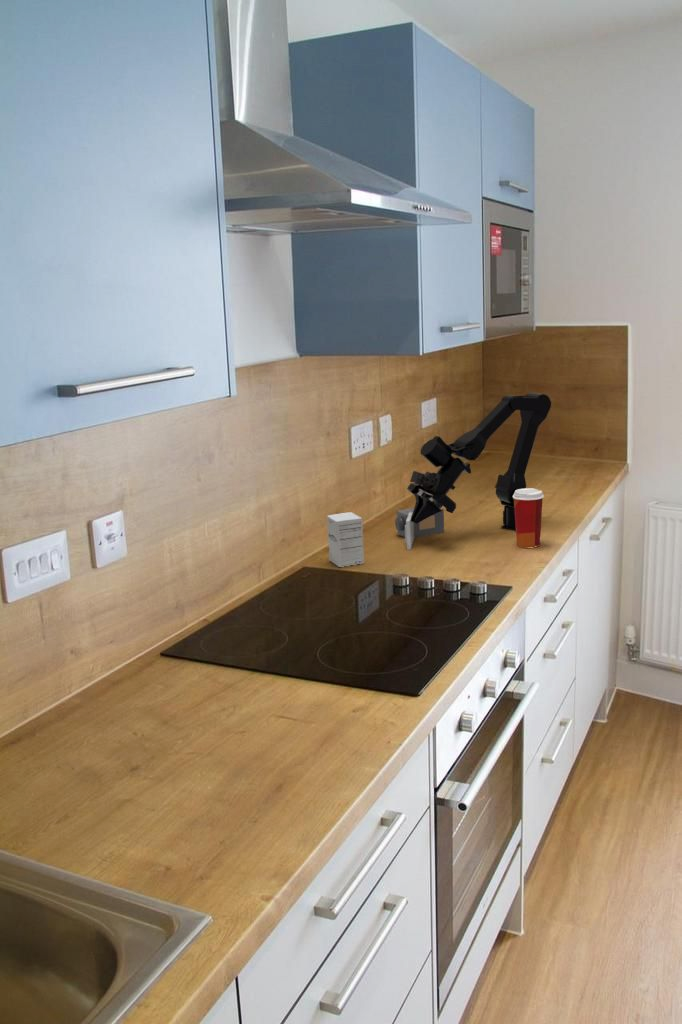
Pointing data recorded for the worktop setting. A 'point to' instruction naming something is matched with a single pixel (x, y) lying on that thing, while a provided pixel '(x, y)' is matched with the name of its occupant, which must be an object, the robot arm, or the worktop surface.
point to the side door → (409, 531)
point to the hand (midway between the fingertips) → (413, 522)
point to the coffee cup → (528, 516)
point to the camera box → (421, 523)
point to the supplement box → (345, 539)
